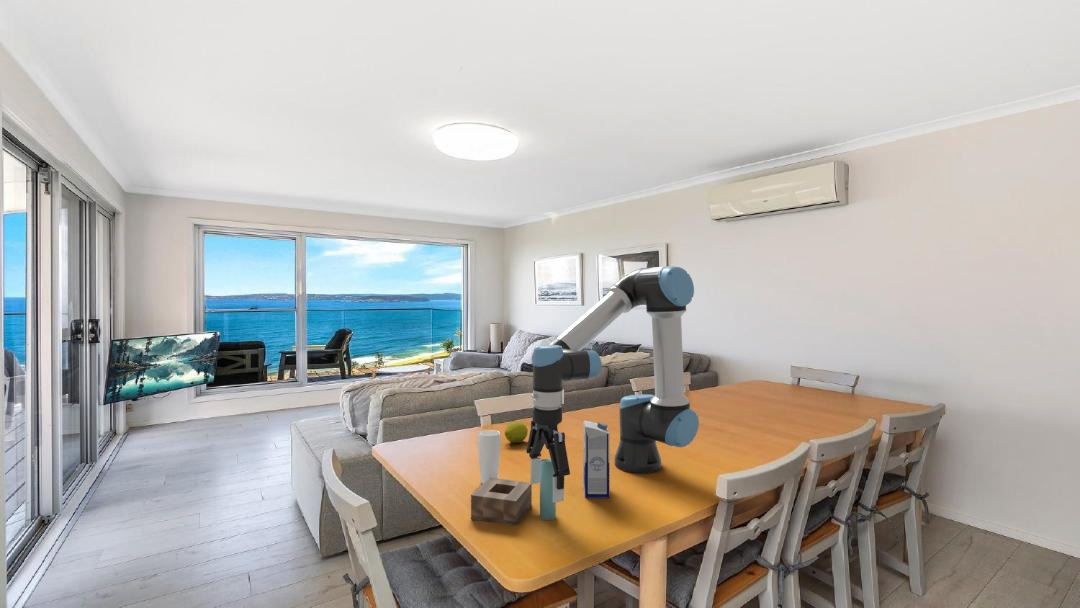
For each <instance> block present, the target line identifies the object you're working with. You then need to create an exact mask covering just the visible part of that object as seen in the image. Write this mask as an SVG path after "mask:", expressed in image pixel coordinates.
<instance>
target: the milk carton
mask: <svg viewBox="0 0 1080 608" xmlns="http://www.w3.org/2000/svg"><path fill="white" fill-rule="evenodd" d="M610 436H611V435H610V431H609V428H608V424H606V423H604V422H600V421H599V422H593V421H588V420H583V492H584V498H585V499H588V498H589V499H610V443H611V442H610V438H611V437H610Z"/></svg>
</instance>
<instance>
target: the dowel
mask: <svg viewBox="0 0 1080 608" xmlns="http://www.w3.org/2000/svg"><path fill="white" fill-rule="evenodd" d="M553 474H555V472H554V469H553V465H552V461H551V458H543V459H542V458H541V460H540V483H539V517H540V519H541V520H543V521H553V520H555V519H556V518H557V513H556V512H557V509H556V508H557V502H555V503H554V502H553Z"/></svg>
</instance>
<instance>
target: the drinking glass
mask: <svg viewBox="0 0 1080 608" xmlns="http://www.w3.org/2000/svg"><path fill="white" fill-rule="evenodd" d="M501 438H502V437H501V432H500V431H499V430H496V429H483V430H480V431H479V432H478V434H477V451H478V463H479V464H478V465H479V474H480V476H479V477H480V478H479V479H480V483H481V485H483V484H484V483H485V482H486V481H487V480H488V479H489V478H496V479H499V470H500V469H499V468H500V460H501V459H500V456H501V445H502V444H501V442H502V441H501Z"/></svg>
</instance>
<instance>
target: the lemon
mask: <svg viewBox="0 0 1080 608" xmlns="http://www.w3.org/2000/svg"><path fill="white" fill-rule="evenodd" d="M528 430H529V429H528V427H527V425H526V424H525V423H524V422H522V421H512V422H511V423H509V424H508V425H507V426H506V428H505V429H504V437H505V438H506V440H507V441H509V442H510V443H512V444H519V443H522V442H524V440H525V439H526V438H527V436H528Z"/></svg>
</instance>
